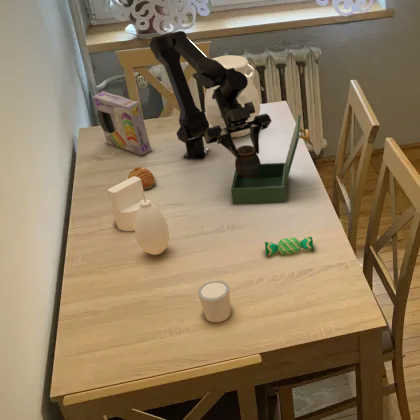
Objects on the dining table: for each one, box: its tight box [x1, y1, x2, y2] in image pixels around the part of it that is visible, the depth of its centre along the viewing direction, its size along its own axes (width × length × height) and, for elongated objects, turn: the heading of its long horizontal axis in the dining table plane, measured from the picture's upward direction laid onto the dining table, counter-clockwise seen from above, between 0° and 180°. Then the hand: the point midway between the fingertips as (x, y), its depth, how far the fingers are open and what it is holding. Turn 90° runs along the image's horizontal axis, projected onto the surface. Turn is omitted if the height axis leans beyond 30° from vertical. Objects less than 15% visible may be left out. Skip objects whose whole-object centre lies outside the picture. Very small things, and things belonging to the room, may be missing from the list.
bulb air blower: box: [134, 192, 170, 256], centre depth 163 cm, size 8×8×18 cm
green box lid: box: [283, 114, 311, 186], centre depth 187 cm, size 16×15×4 cm
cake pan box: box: [92, 90, 152, 156], centre depth 214 cm, size 19×5×18 cm, turn 55°
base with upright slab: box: [107, 176, 145, 232], centre depth 177 cm, size 9×9×12 cm
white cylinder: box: [197, 280, 232, 323], centre depth 146 cm, size 7×7×7 cm
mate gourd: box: [234, 144, 262, 178], centre depth 185 cm, size 7×8×10 cm
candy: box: [264, 236, 314, 257], centre depth 167 cm, size 12×3×4 cm
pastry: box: [127, 166, 157, 190], centre depth 197 cm, size 9×7×4 cm
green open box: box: [230, 162, 289, 205], centre depth 192 cm, size 15×15×5 cm
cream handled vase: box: [204, 54, 261, 138], centre depth 221 cm, size 19×18×25 cm
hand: (248, 156), depth 183 cm, fingers closed on mate gourd, 5 cm apart
